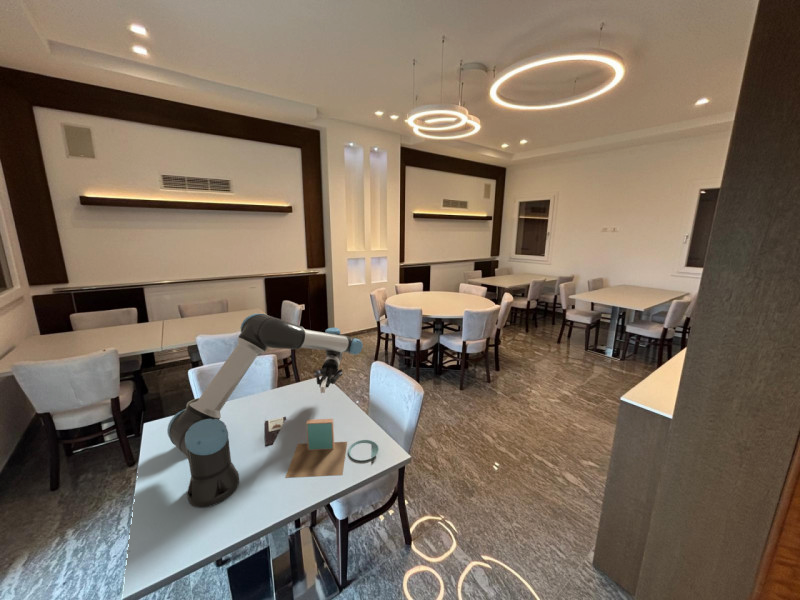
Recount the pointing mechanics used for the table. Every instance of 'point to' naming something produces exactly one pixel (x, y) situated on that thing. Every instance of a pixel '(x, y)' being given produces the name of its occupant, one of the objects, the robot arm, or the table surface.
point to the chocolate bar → (273, 429)
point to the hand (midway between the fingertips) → (322, 389)
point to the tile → (320, 434)
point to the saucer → (373, 448)
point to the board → (317, 461)
